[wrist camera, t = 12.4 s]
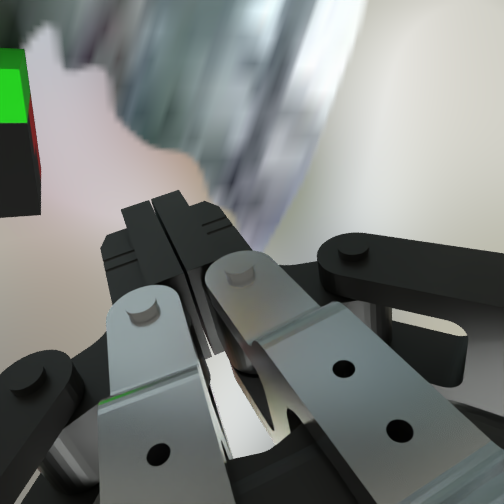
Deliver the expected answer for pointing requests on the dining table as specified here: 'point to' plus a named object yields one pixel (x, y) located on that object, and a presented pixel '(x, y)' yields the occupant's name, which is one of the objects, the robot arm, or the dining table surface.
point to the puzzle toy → (17, 139)
